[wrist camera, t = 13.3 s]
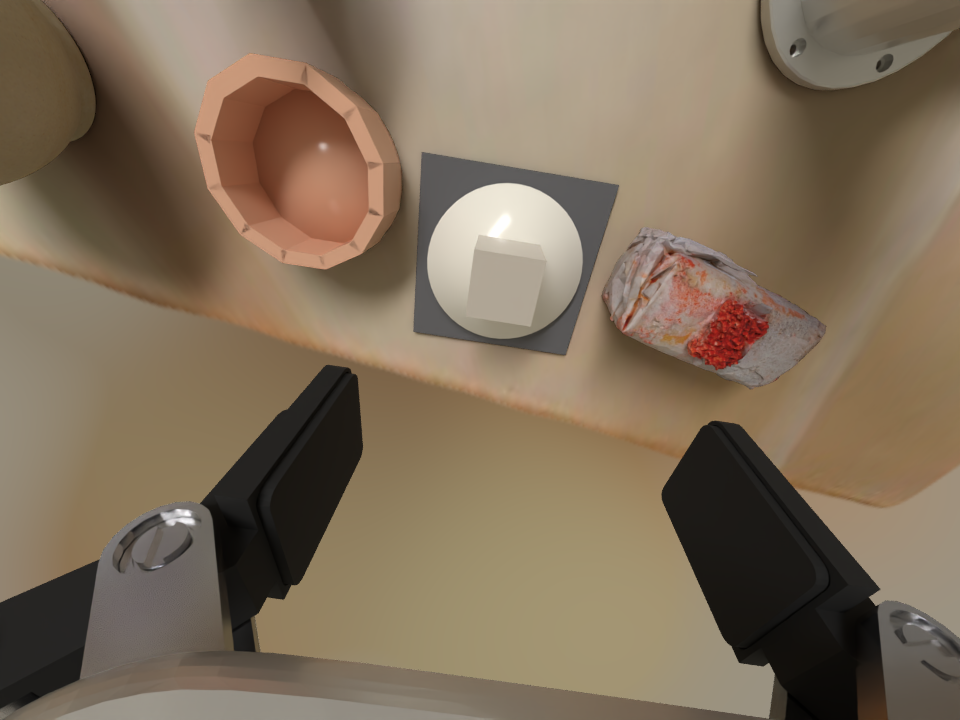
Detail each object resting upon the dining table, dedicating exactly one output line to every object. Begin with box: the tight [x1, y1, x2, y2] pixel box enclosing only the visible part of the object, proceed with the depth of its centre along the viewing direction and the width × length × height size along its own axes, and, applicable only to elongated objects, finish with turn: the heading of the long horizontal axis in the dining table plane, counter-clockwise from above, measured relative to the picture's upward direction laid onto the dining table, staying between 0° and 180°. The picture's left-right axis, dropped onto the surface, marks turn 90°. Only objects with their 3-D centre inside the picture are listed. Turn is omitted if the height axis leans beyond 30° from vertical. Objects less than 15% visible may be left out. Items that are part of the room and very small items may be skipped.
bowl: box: [194, 53, 402, 270], centre depth 25 cm, size 12×12×5 cm
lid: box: [427, 183, 583, 339], centre depth 27 cm, size 13×13×6 cm
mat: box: [413, 152, 619, 355], centre depth 29 cm, size 15×15×1 cm
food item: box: [602, 227, 826, 389], centre depth 26 cm, size 14×8×10 cm, turn 69°
